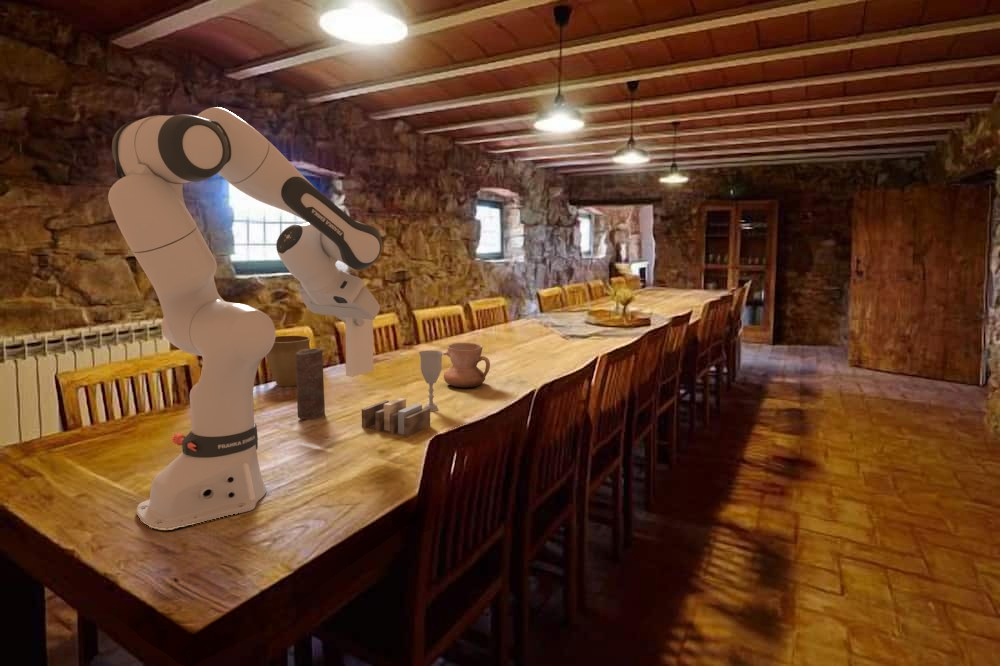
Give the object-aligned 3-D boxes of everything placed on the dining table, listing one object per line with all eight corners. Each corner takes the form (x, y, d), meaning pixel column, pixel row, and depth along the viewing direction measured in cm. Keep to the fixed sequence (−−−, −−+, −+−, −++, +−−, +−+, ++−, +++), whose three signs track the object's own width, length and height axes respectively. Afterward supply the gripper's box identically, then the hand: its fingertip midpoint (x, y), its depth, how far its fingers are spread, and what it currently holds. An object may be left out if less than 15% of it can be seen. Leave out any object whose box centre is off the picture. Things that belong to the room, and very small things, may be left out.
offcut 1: (390, 431, 155) (389, 405, 154) (384, 429, 156) (383, 404, 155) (406, 423, 161) (405, 398, 160) (400, 422, 162) (400, 397, 161)
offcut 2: (404, 434, 152) (404, 412, 151) (398, 433, 153) (397, 411, 152) (422, 426, 159) (422, 404, 158) (416, 424, 160) (415, 403, 159)
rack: (408, 440, 151) (407, 418, 150) (362, 431, 157) (361, 409, 156) (430, 429, 159) (430, 408, 158) (385, 420, 166) (385, 400, 165)
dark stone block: (316, 424, 162) (314, 352, 159) (292, 422, 164) (289, 351, 160) (329, 416, 169) (328, 347, 166) (306, 414, 171) (304, 346, 168)
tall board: (352, 376, 146) (351, 312, 144) (346, 375, 147) (345, 312, 144) (373, 370, 153) (372, 309, 151) (367, 369, 154) (366, 308, 151)
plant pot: (320, 382, 206) (319, 337, 203) (284, 392, 194) (282, 344, 191) (292, 376, 214) (290, 333, 211) (256, 385, 201) (253, 339, 199)
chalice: (414, 413, 174) (413, 353, 171) (427, 407, 180) (427, 349, 177) (434, 417, 170) (435, 356, 167) (447, 411, 176) (448, 352, 173)
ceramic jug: (432, 386, 205) (433, 346, 202) (453, 377, 217) (454, 339, 215) (478, 394, 197) (479, 352, 194) (497, 384, 210) (498, 345, 207)
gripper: (286, 293, 140) (317, 329, 150) (354, 299, 131) (382, 337, 141) (300, 274, 143) (330, 310, 153) (367, 278, 134) (393, 317, 144)
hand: (355, 323), depth 147 cm, fingers closed on tall board, 2 cm apart
